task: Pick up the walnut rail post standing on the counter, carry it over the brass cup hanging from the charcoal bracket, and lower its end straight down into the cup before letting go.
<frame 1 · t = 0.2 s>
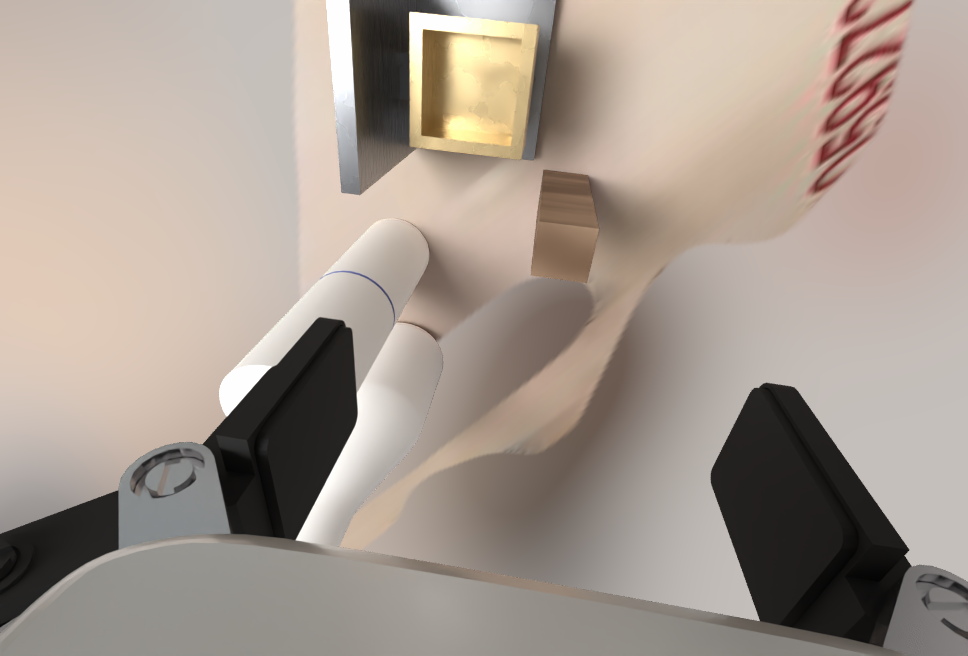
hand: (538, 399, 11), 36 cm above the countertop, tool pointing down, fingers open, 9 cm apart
cylindrical container: (396, 250, 49), on the countertop
wine bottle: (406, 351, 56), on the countertop
rail post: (561, 194, 44), on the countertop
cup bracket: (473, 75, 40), on the countertop
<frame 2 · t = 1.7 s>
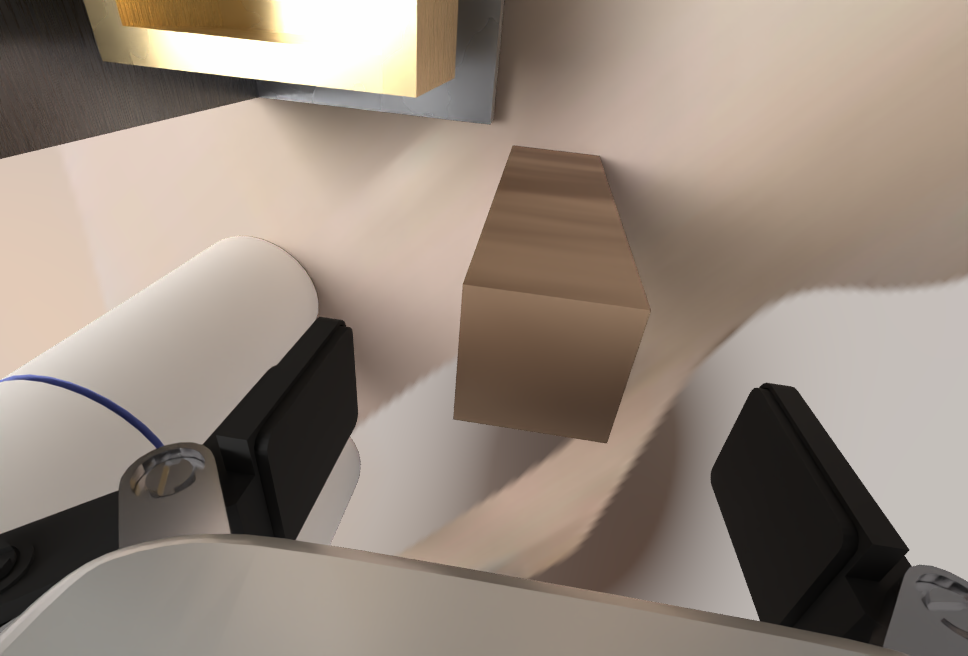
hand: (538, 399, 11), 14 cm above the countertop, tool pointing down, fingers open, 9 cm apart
cylindrical container: (262, 290, 28), on the countertop
wine bottle: (304, 443, 35), on the countertop
rail post: (548, 193, 23), on the countertop
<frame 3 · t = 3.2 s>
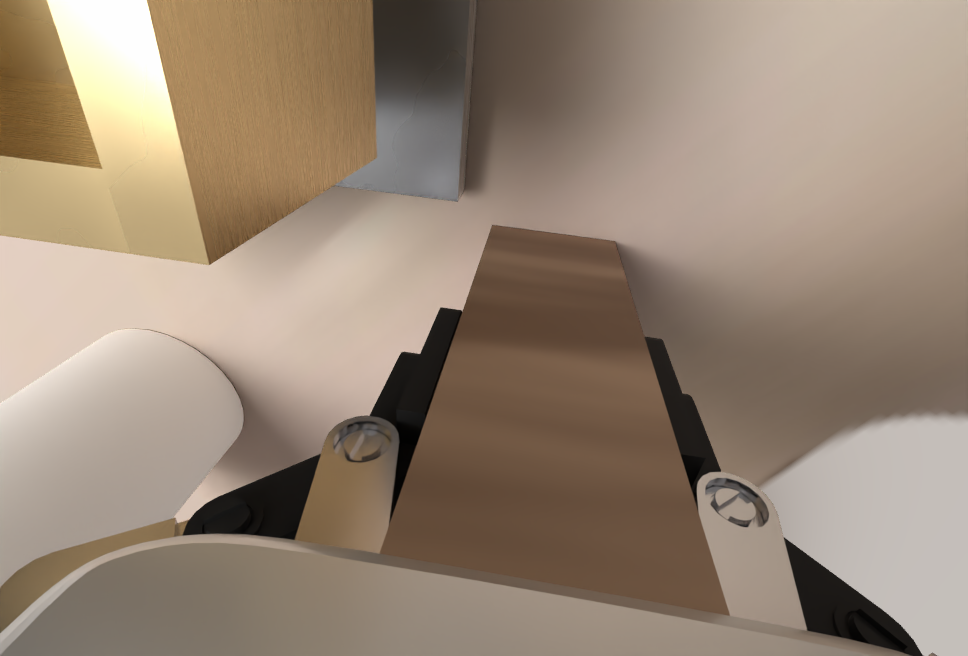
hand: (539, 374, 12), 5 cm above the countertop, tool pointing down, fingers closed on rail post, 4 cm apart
cylindrical container: (171, 392, 22), on the countertop
rail post: (543, 288, 16), on the countertop, touching gripper
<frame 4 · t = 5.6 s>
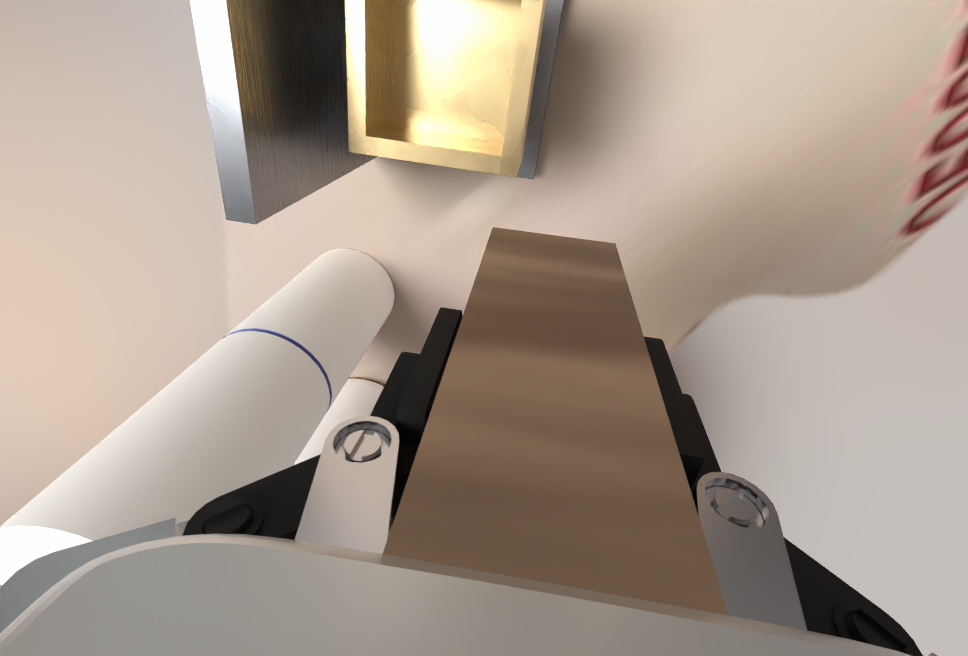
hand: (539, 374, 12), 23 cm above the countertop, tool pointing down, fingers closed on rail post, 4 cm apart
cylindrical container: (352, 289, 38), on the countertop
wine bottle: (366, 413, 45), on the countertop
rail post: (543, 289, 16), point 18 cm above the countertop, touching gripper
cup bracket: (454, 61, 29), on the countertop
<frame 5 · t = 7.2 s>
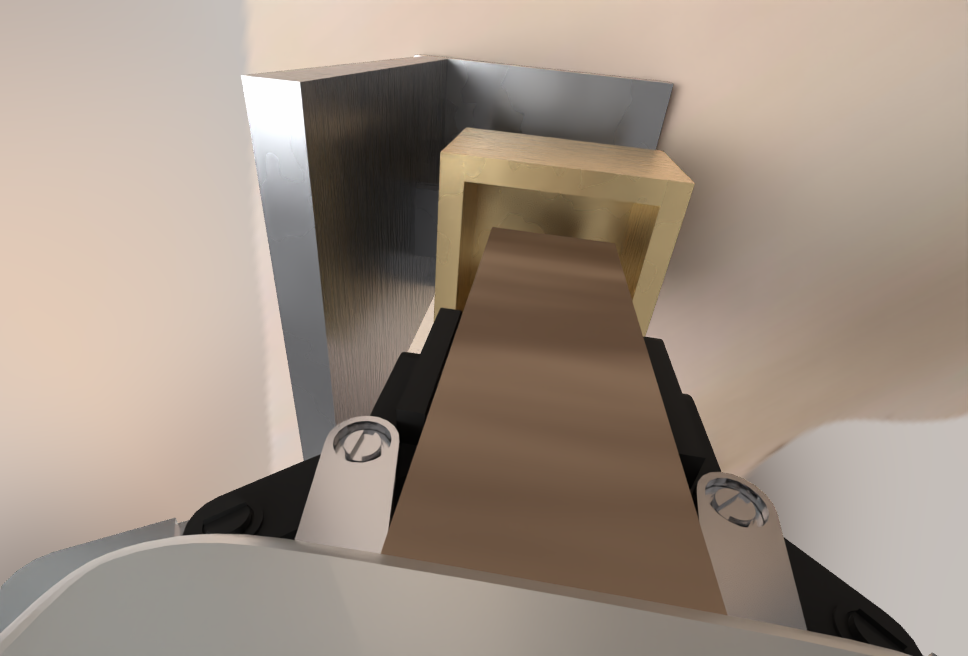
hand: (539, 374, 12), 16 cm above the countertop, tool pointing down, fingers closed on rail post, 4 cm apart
rail post: (543, 289, 16), point 11 cm above the countertop, touching gripper
cup bracket: (525, 191, 26), on the countertop
when the fingers open (13 cm above the countertop, at t = 8.1 s): rail post drops 1 cm, resting on cup bracket.
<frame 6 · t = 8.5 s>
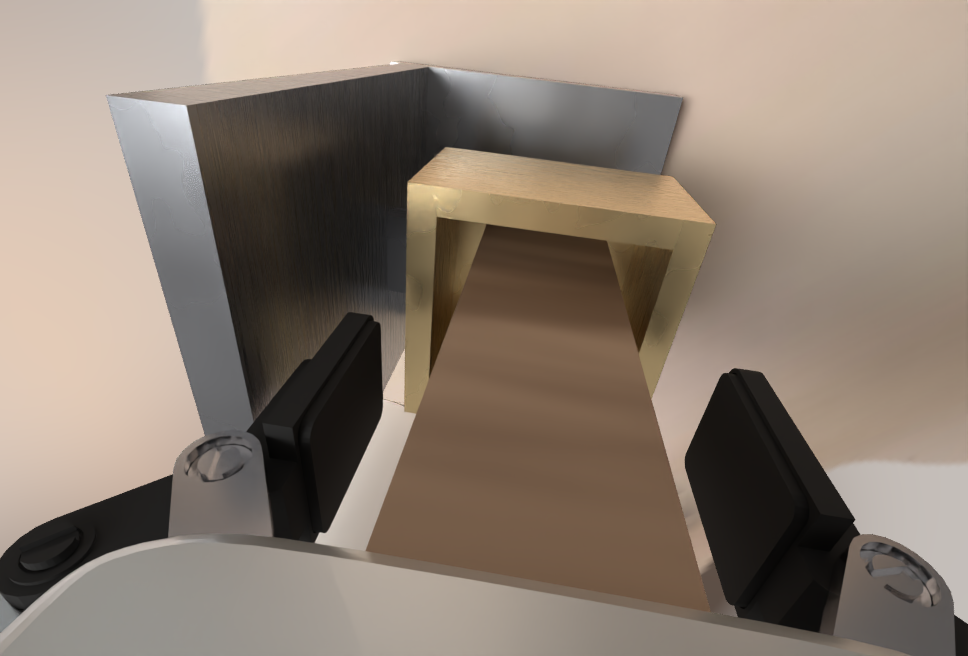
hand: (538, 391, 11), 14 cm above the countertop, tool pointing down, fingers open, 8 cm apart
cylindrical container: (384, 436, 33), on the countertop
rail post: (536, 276, 17), point 7 cm above the countertop, touching cup bracket
cup bracket: (516, 214, 23), on the countertop
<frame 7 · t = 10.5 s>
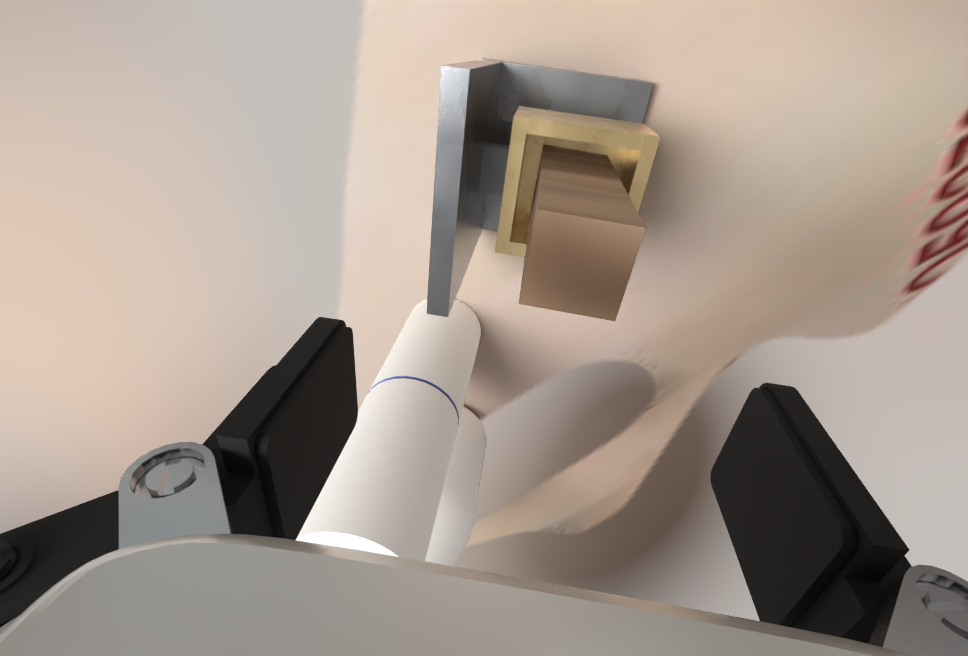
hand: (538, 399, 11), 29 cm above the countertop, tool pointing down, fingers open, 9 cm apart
cylindrical container: (444, 328, 46), on the countertop
wine bottle: (445, 428, 52), on the countertop
rail post: (567, 182, 30), point 7 cm above the countertop, touching cup bracket
cup bracket: (549, 157, 36), on the countertop
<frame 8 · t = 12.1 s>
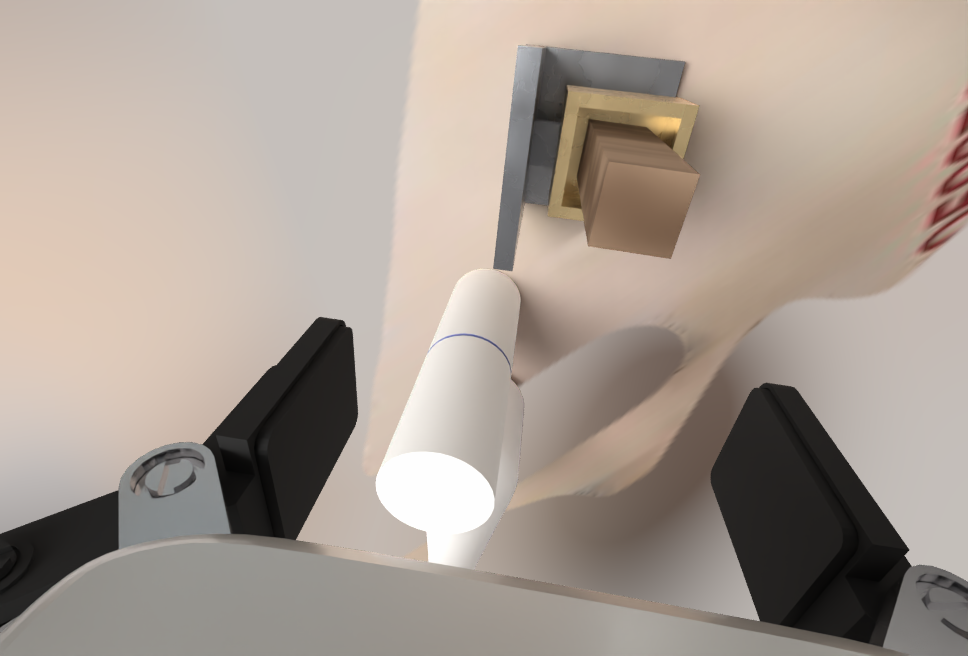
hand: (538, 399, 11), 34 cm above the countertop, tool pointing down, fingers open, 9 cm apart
cylindrical container: (486, 299, 49), on the countertop
wine bottle: (484, 396, 56), on the countertop
rail post: (610, 152, 34), point 7 cm above the countertop, touching cup bracket
cup bracket: (587, 134, 40), on the countertop
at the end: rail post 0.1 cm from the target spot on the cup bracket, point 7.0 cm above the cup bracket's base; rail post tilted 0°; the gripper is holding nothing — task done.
